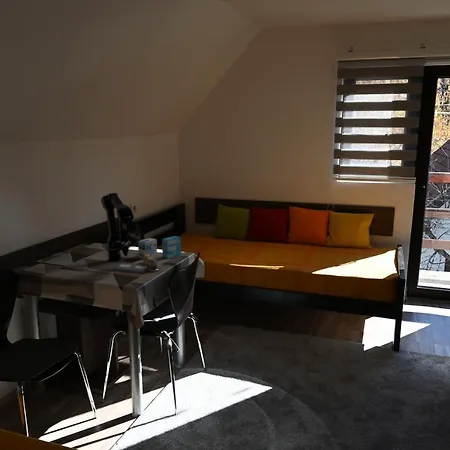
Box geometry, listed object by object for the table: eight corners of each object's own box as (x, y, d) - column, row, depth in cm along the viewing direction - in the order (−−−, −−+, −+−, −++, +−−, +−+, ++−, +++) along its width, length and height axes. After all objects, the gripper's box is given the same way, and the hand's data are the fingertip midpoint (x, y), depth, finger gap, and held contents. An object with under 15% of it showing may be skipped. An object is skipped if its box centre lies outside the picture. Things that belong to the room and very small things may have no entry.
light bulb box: (146, 259, 294) (145, 242, 292) (138, 258, 297) (137, 241, 295) (157, 255, 303) (157, 238, 301) (149, 254, 306) (148, 237, 304)
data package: (167, 259, 295) (167, 239, 293) (162, 257, 298) (161, 238, 295) (181, 255, 304) (180, 236, 302) (176, 253, 307) (175, 235, 305)
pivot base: (146, 271, 269) (146, 269, 269) (151, 268, 275) (151, 267, 275) (156, 272, 268) (156, 270, 267) (161, 269, 273) (161, 267, 273)
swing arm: (157, 268, 270) (157, 260, 269) (151, 269, 269) (151, 261, 268) (147, 259, 289) (147, 251, 288) (141, 260, 287) (141, 252, 286)
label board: (112, 270, 272) (112, 267, 272) (123, 264, 283) (122, 262, 283) (143, 273, 267) (143, 270, 266) (152, 267, 278) (152, 264, 278)
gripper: (129, 233, 260) (131, 261, 263) (145, 226, 278) (146, 253, 281) (111, 232, 264) (112, 259, 267) (127, 225, 281) (128, 251, 284)
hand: (125, 256), depth 274 cm, fingers closed
